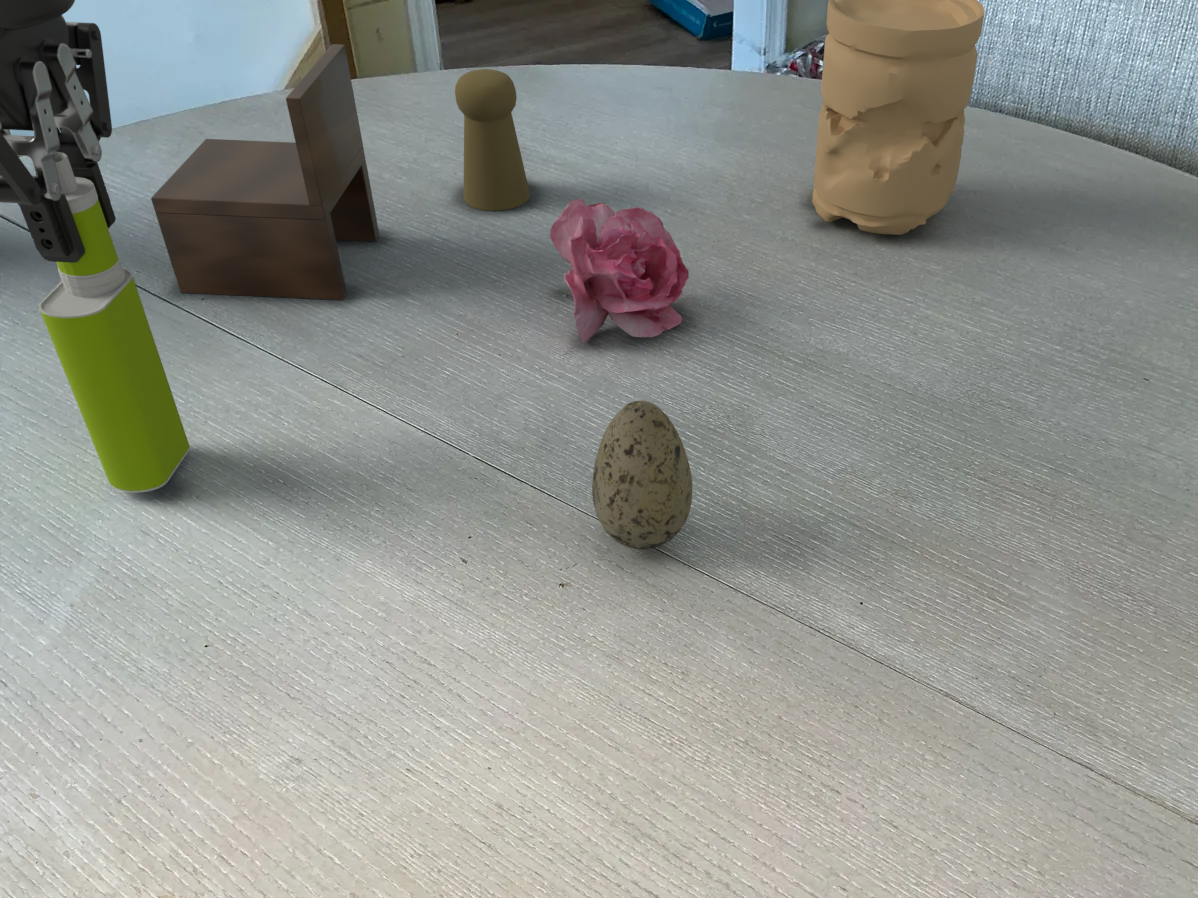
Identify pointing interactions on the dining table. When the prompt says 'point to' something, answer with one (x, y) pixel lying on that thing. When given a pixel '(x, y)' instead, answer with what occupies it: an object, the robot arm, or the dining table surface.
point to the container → (893, 109)
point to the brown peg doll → (490, 141)
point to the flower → (619, 268)
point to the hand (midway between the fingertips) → (80, 241)
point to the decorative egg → (641, 478)
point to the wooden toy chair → (274, 200)
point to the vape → (112, 353)
